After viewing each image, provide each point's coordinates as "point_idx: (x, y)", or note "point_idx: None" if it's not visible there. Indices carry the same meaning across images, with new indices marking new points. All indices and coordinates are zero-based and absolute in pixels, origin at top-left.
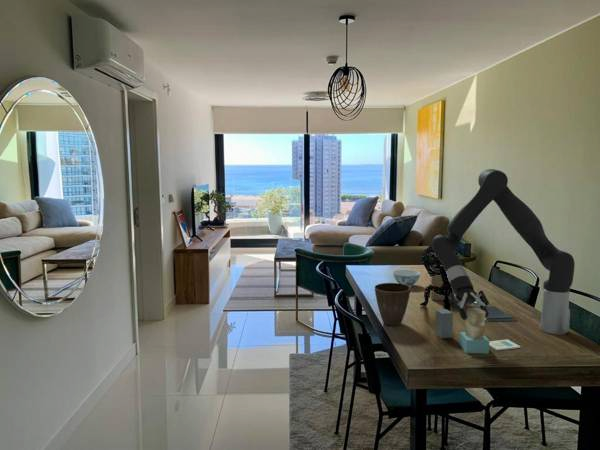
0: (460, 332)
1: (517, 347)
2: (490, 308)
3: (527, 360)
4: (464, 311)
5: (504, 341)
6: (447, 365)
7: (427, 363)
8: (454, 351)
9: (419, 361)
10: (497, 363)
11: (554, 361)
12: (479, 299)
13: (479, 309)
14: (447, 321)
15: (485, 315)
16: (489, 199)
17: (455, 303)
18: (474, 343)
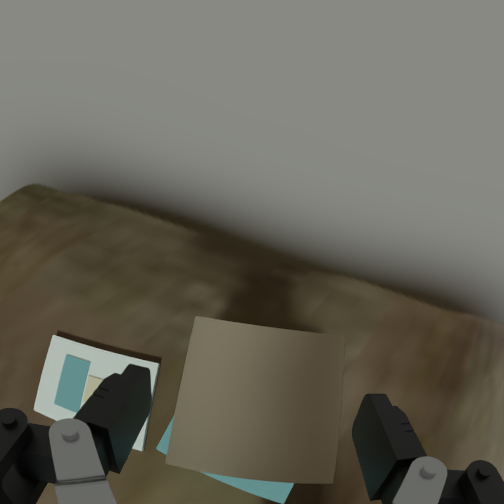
0: (285, 498)
1: (65, 339)
2: None
3: (137, 250)
4: (393, 432)
5: (61, 402)
6: (440, 316)
7: (484, 346)
8: None
9: (498, 364)
10: (261, 271)
11: (77, 218)
12: (72, 495)
13: (201, 403)
14: None
15: (146, 385)
16: None
17: (491, 493)
18: None
